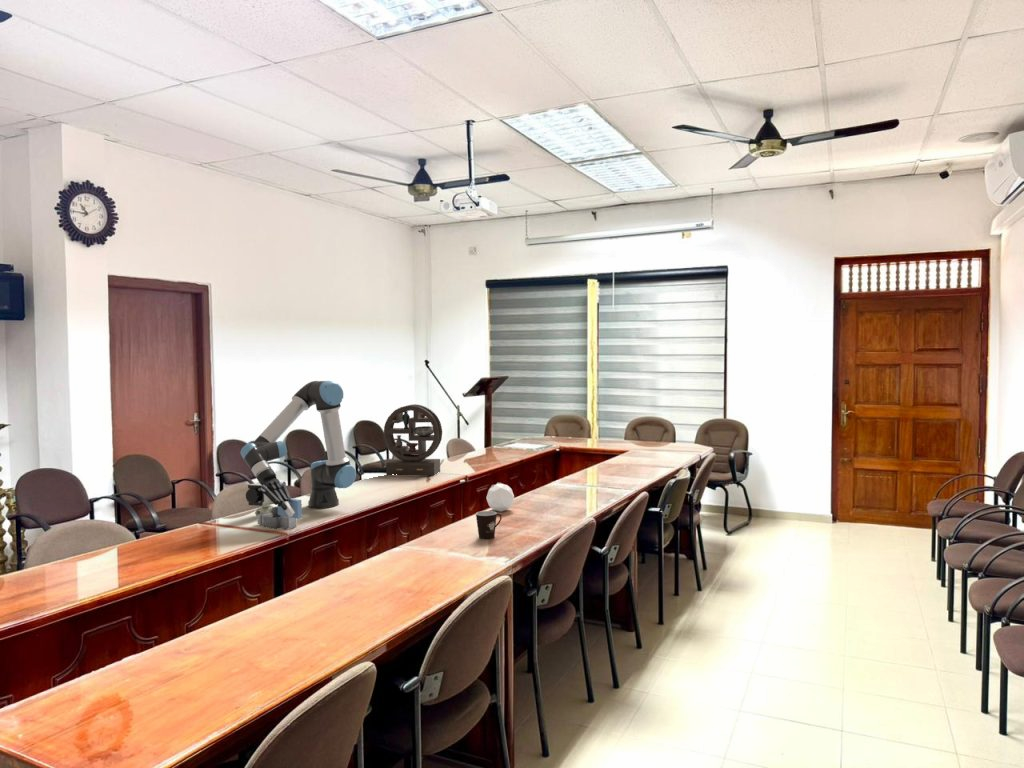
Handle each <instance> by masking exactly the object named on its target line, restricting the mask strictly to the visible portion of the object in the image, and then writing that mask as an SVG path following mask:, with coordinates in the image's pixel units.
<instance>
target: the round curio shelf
mask: <svg viewBox="0 0 1024 768" xmlns="http://www.w3.org/2000/svg"><path fill="white" fill-rule="evenodd" d="M409 411H413V413H412V414H413V417H412V416H410V414H409ZM402 422H403V424H404V427H394V425H395V424H400V423H402ZM417 423H431V426H429V425H427V426H426V425H425V426H424V425H423V426H416V424H417ZM402 434H404V435H405V434H408V441H409V443H405V445H403V441H402ZM394 435H396V438H397V439H396V441H395V437H394ZM383 439H384V442H385V445H386V447H387V449H388V451H389V452H390V453H391V454H392V455H393V456H394V457H395V458H393V459H390V460H388V461H386V462H385V471H386V472H385V473H386V474H385V475H386V476H387V477H389V476H388V475H392V474H394V475H396V474H397V475H435V474H436V475H438V474H439V473H441V459H440V458H429V457H430V456H432V455H433V454H434V453H435V451H437V449H438V448H439V446H440V444H441V442H442V439H443V427H442V423H441V421H440V419H439V417H438V415H437V414H436V413H435V412H434V411H433V410H432V409H430V408H428V407H427V406H424V405H421V404H415V403H414V404H409V405H404V406H401V407H398V408H397V409H395V410H393V412H391V413H390V415H389V416H388V417H387V418H386V421H385V423H384V426H383ZM410 441H411V442H410ZM427 441H429V442H430V441H431V442H432V443H431V444H430V446H429V447H428V449H427ZM416 447H417V449H416ZM438 472H439V473H438ZM437 473H438V474H437ZM436 475H435V476H436Z"/></svg>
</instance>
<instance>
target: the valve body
mask: <svg viewBox="0 0 1024 768" xmlns="http://www.w3.org/2000/svg"><path fill="white" fill-rule="evenodd" d="M256 518H257V519H256V520H257V525H258V526H263V528H266V527H267V529H272V528H274V530H278V529H284V530H290V529H294V528H297V519H296V518H291V517H286V516H281V515H272V514H271V513H270V512H265V513H261V514H258V515H257V516H256ZM277 528H278V529H277Z"/></svg>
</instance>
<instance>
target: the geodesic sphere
mask: <svg viewBox="0 0 1024 768" xmlns="http://www.w3.org/2000/svg"><path fill="white" fill-rule="evenodd" d="M514 499H515V495H514V493H513V489H512V488H511V487H510V486H509V485H508V484H504V483H502V482H497V483H496V484H491V486H490V487H489V489H488V491H487V495H486V502H487V504H488V506H489V507H490V508H491V509H492V511H495V512H496V511H497V512H500V513H501V512H505V511H507V510H509V509H510V508H511V506H512V505H513V503H514Z"/></svg>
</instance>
